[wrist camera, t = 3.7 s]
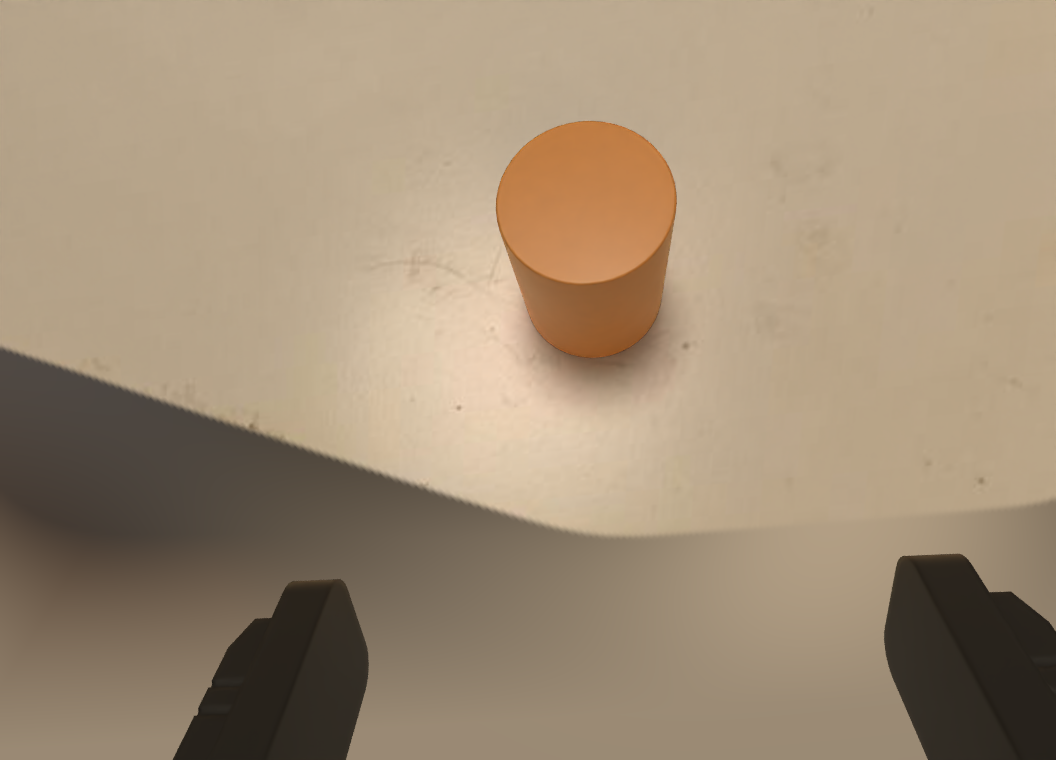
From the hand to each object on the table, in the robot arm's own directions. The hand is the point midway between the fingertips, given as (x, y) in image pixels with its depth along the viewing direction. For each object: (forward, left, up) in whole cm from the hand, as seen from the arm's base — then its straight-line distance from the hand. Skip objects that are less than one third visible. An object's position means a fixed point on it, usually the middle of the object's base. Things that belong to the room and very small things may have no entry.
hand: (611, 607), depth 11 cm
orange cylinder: (+8, +8, -15) cm, 19 cm away
